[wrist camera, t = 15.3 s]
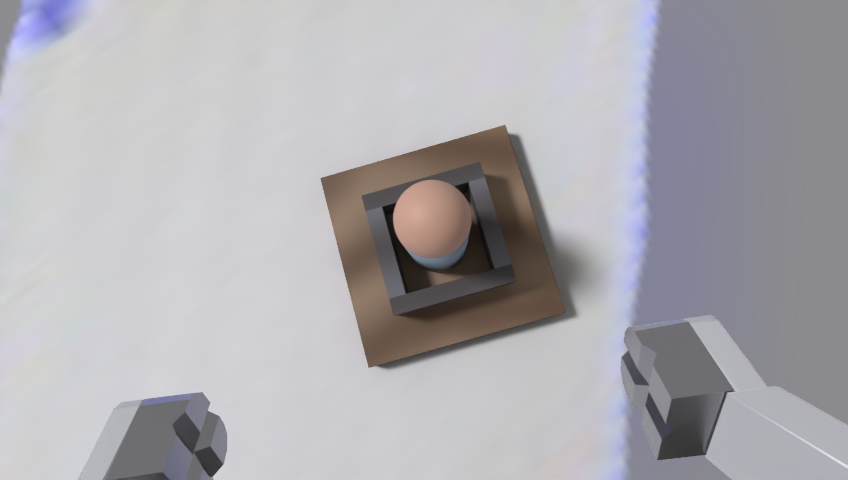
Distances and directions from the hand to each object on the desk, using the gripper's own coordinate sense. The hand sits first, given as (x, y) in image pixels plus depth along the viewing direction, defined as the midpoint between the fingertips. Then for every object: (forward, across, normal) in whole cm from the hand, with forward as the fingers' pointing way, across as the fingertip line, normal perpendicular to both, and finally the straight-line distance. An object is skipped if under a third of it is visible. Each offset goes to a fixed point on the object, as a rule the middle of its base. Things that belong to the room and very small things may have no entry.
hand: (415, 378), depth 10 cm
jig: (+25, -1, +16) cm, 30 cm away
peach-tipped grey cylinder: (+24, 0, +15) cm, 29 cm away
